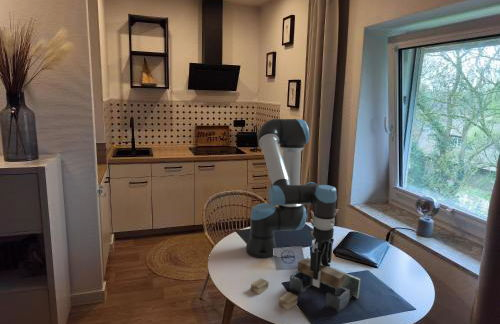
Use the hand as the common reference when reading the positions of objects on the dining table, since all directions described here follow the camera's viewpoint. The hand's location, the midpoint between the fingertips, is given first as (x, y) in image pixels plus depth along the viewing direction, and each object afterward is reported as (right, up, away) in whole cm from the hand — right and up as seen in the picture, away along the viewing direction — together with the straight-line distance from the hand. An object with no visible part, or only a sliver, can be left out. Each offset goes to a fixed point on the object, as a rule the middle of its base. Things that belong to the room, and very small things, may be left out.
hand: (319, 283), depth 135 cm
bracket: (+2, -5, +4) cm, 6 cm away
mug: (+4, -1, +22) cm, 22 cm away
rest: (-18, -5, 0) cm, 19 cm away
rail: (0, +3, -1) cm, 3 cm away
